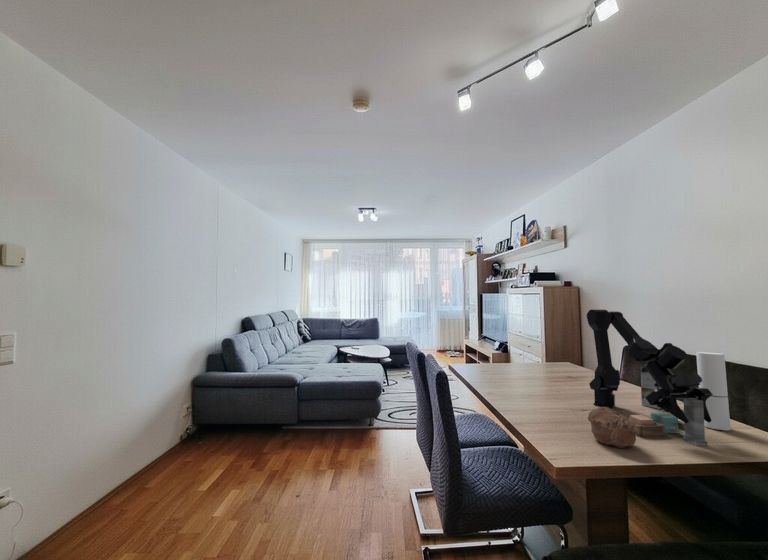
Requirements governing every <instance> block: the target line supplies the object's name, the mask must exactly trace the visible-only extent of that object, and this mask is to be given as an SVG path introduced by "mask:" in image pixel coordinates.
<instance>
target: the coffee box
mask: <svg viewBox="0 0 768 560" xmlns="http://www.w3.org/2000/svg"><path fill="white" fill-rule="evenodd" d="M641 369H642V365H640V370H641ZM655 383H656V382H655V381H654V379H653V378H652V377H651V375H650V374H649V373H642V372H641V371H640V393H641V399H640V400H641V405H642V406H645V407H647V408H648V407H649V408H654V409H657V410H659V409H660V410H661V408H660V407H657V405H650V404H649V402H648V401H647V395H649V394H650V393H651V392H652V391H653V390H654V389H660V387H655V385H654V384H655Z"/></svg>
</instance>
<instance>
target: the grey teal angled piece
mask: <svg viewBox="0 0 768 560" xmlns="http://www.w3.org/2000/svg"><path fill="white" fill-rule="evenodd" d="M682 400H683V413H684V414H685V416H686V417H687V419H688V421H689V422H688V423H684V422H683V423H684V424H685V431H682V430H680V429H678V421H679V419H678V418H677V417H675V416H674V415H672V414H670V413H668V412H664V411H663V412H660V411H659V412H658V411H657V412H650V419H653V421H655V422H658V423H660V424H663V425H665V434H680V435H682V441H684V442H686V443H688V442H689V443H688V444H691V445H693V444H694V445H693V446H695V445H702V446H708V445H709V442H708V441H706V433H705V432H706V431H705V426H704V407H703V401H701V400H698V399H694V398H683V399H682Z"/></svg>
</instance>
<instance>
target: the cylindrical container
mask: <svg viewBox="0 0 768 560" xmlns="http://www.w3.org/2000/svg"><path fill="white" fill-rule="evenodd" d="M695 354H696V356H695V357H696V367H697V368H696V369H697V374H698V375H699V376H700V377H701V378H702V382H700V385H698V388H706V389H708V390H709V391H710V392H711V393H712V394H713V395H712V396H711V397H709V398H708V399H707V400H706V407H707V410H708V412H709V415H710V418H711V422H707V421H706V420H704V428H708V429H713V430H718V431H720V430H721V431H731V429H732V428H731V419H730V417H731V416H730V409H729V408H730V406H729V404H730V403H729V396H728V395H729V393H728V383H727V381H728V380H727V371H726V370H727V369H726V359H725V358H726V357H725V353H718V352H709V351H708V352H707V351H706V352H705V351H696V353H695Z"/></svg>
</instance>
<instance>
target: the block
mask: <svg viewBox="0 0 768 560" xmlns="http://www.w3.org/2000/svg"><path fill="white" fill-rule="evenodd" d="M629 419H630V420H631V421H632V422H633V423H635V424H637V425H654V422H653V419H651V417H648V416H645V415H642V414H631V415H629Z"/></svg>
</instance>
